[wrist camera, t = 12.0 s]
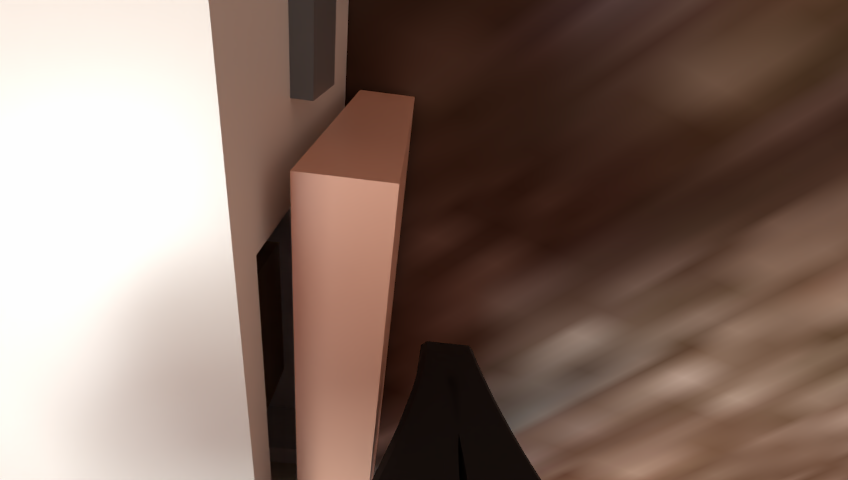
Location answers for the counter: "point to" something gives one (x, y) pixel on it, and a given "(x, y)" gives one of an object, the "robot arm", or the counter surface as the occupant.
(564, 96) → the counter surface
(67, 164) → the cabinet
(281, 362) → the maple cube
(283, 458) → the drawer
